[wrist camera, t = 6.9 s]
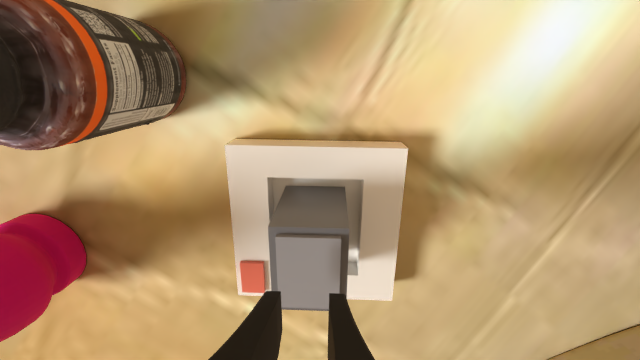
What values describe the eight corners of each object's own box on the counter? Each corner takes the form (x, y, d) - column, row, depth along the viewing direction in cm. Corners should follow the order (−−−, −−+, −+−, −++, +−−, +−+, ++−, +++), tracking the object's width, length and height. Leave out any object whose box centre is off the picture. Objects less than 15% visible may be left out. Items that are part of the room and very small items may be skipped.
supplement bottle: (93, 105, 20) (-187, 137, 9) (100, 7, 18) (-244, -97, 7) (182, 133, 20) (12, 196, 10) (198, 40, 18) (8, -12, 8)
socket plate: (401, 141, 20) (409, 149, 18) (387, 282, 23) (392, 303, 21) (234, 138, 20) (222, 146, 18) (246, 277, 24) (237, 297, 21)
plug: (344, 186, 20) (349, 231, 14) (342, 251, 22) (346, 315, 16) (285, 185, 21) (266, 229, 15) (288, 249, 22) (271, 312, 16)
